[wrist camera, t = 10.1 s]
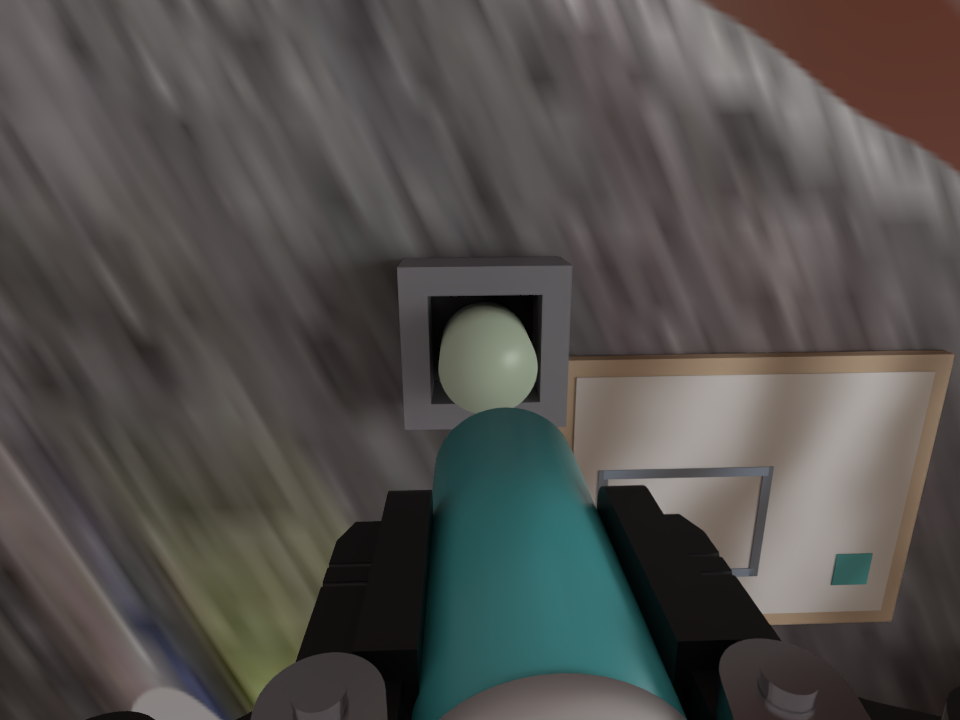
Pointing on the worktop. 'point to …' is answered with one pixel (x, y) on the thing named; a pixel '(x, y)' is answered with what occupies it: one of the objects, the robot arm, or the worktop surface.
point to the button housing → (477, 278)
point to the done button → (486, 358)
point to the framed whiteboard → (774, 462)
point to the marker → (529, 588)
